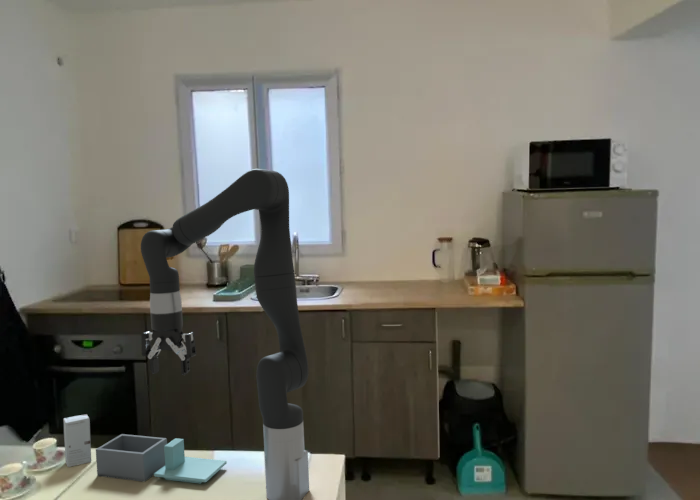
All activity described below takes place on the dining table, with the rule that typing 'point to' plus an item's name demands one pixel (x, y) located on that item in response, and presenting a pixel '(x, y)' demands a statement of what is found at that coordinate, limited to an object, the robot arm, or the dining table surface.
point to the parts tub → (131, 457)
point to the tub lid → (186, 465)
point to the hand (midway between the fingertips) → (170, 373)
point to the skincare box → (77, 440)
